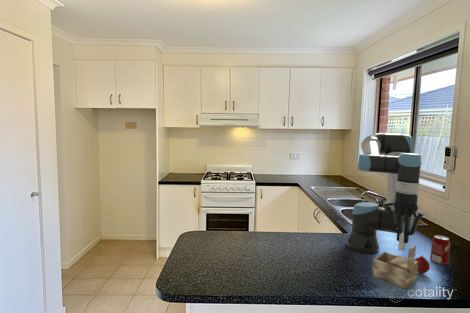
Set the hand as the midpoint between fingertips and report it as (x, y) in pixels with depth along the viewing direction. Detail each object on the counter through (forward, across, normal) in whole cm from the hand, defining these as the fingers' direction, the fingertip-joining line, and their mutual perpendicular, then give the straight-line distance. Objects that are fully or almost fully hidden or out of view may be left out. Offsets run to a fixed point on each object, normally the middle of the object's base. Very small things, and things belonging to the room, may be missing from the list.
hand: (401, 249), depth 112 cm
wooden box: (+13, -2, 0) cm, 13 cm away
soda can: (+13, +6, +33) cm, 36 cm away
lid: (+5, +1, 0) cm, 5 cm away
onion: (+13, +4, +13) cm, 19 cm away
